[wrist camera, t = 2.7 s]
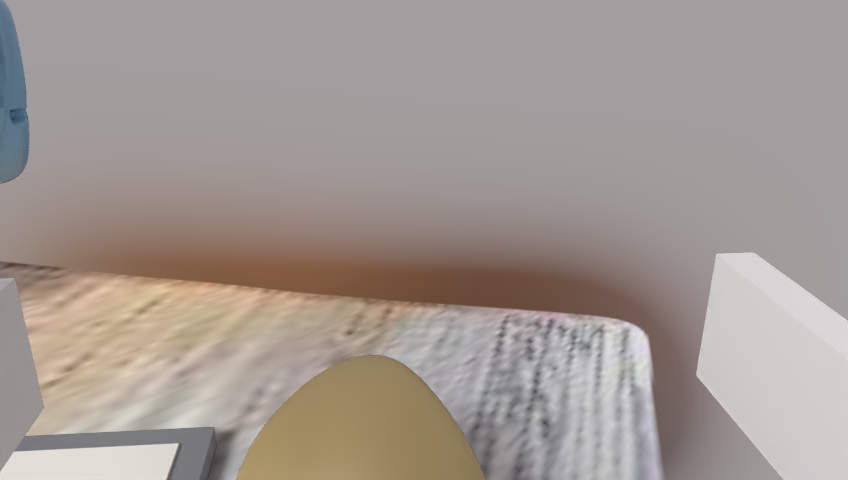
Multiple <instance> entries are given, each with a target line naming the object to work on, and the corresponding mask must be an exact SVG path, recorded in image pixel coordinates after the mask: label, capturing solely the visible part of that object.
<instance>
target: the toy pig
mask: <svg viewBox="0 0 848 480" xmlns="http://www.w3.org/2000/svg"><path fill="white" fill-rule="evenodd" d="M237 480H486V479H485V477H484V474H483V472H482V469H481V467H480V465H479V462H478V460H477V458H476V456H475V454H474V452H473V450H472V448H471V446H470V444H469V443H468V441H467V439H466V437H465V436H464V434H463V432H462V431H461V429H460V428H459V426H458V425H457V423H456V422H455V420H454V419H453V417H452V416H451V414H450V413H449V412H448V410H447V409H446V407H445V406H444V405H443V404H442V402H441V401H440V400H439V398H438V397H437V396H436V395H435V394H434V392H433V391H432V390H431V389H430V388H429V387H428V386H427V385H426V383H425V382H424V381H423V380H422V379H421V378H420V377H419V376H417V375H416V374H415V373H414V372H413V371H412V370H411V369H409V368H408V367H407V366H405V365H404V364H402V363H400V362H399V361H397V360H395V359H392V358H389V357H386V356H380V355H364V356H357V357H353V358H350V359H347V360H344V361H342V362H339V363H337V364H335V365H333V366H331V367H330V368H328V369H326V370H324V371H323V372H321V373H320V374H318V375H317V376H315V377H314V378H313V379H311V380H310V381H309V382H307V383H306V384H305V385H304V386H302V387H301V388H300V389H299V390H298V391H297V392H295V393H294V394H293V395H292V396H291V397H290V398H289V399H288V400H287V401H286V402H285V403H284V404H283V405H282V406H281V407H280V408H279V409H278V410H277V411H276V412H275V413H274V415H273V416H272V417H271V418H270V419H269V420H268V422H267V423H266V424H265V426H264V427H263V428H262V430H261V431H260V432H259V434H258V435H257V437H256V438H255V440H254V442H253V443H252V445H251V447H250V449H249V450H248V452H247V454H246V456H245V458H244V461H243V463H242V465H241V468H240V470H239V473H238V476H237Z"/></svg>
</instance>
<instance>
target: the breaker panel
mask: <svg viewBox="0 0 848 480" xmlns="http://www.w3.org/2000/svg"><path fill="white" fill-rule="evenodd" d="M216 446H217V445H216V436H215V428H214V427H201V428H181V429H161V430H140V431H120V432H100V433H80V434H60V435H39V436H24V438H23V439H22V441H21V442H20V444H19V445H18V446H17V448H16V449H15V451H14V452H13V454H12V455H11V457H10V458H9V460H8V461H7V463H6V464H5V465H4V467H3V468H2V470H1V471H0V480H207V479H208V475H209V472H210V468H211V464H212V460H213V457H214V453H215V449H216Z"/></svg>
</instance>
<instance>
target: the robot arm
mask: <svg viewBox="0 0 848 480" xmlns="http://www.w3.org/2000/svg"><path fill="white" fill-rule="evenodd" d="M26 107H27V104H26V85H25V77H24V70H23V64H22V58H21V52H20V47H19V41H18V37H17V33H16V28H15V24H14V21H13V18H12V15H11V12H10V10H9V8H8V6H7V4H6V3H5V2H4V1H3V0H0V183H5V182H9V181H11V180H13V179H15V178H16V177H18V176H19V175H20V174H21V173H22V172H23V170H24V168H25V166H26V164H27V160H28V154H29V123H28V122H29V121H28V116H27V112H26ZM696 376H697V377H698V378H699V379H700V380H701V382H702V383H703V384H704V385H705V386H706V387H707V389H708V390H709V391H710V392H711V394H712V395H713V396H714V397H715V398H716V400H718V402H719V403H720V404H721V406H722V407H723V408H724V409H725V410H726V412H727V413H728V414H729V415H730V416H731V418H732V419H733V420H734V421H735V422H736V424H737V425H738V426H739V427H740V428H741V430H742V431H743V432H744V433H745V434H746V435H747V437H748V438H749V439H750V440H751V441H752V443H753V444H754V445H755V446H756V447H757V449H758V450H759V451H760V452H761V453H762V455H763V456H764V457H765V458H766V460H767V461H768V462H769V463H770V464H771V466H772V467H773V468H774V469H775V470H776V472H777V473H778V474H779V475H780V476H781V477H782V479H783V480H848V321H847V320H846V319H844V318H843V317H842V316H840V315H839V314H838V313H836V312H835V311H833V310H832V309H831V308H829V307H828V306H827V305H825V304H824V303H822V302H821V301H820V300H818V299H817V298H816V297H814V296H813V295H811V294H810V293H809V292H807V291H805V290H804V289H803V288H802V287H800V286H799V285H798V284H796V283H795V282H793V281H792V280H791V279H789V278H788V277H787V276H785V275H784V274H782V273H781V272H780V271H778V270H777V269H776V268H774V267H773V266H771V265H770V264H768V263H767V262H766V261H765V260H763V259H762V258H760V257H759V256H758V255H756V254H755V253H728V254H716V259H715V266H714V272H713V277H712V283H711V289H710V295H709V301H708V307H707V313H706V319H705V325H704V331H703V337H702V343H701V349H700V355H699V361H698V367H697V373H696ZM43 408H44V405H43V401H42V396H41V392H40V387H39V383H38V379H37V374H36V370H35V365H34V361H33V356H32V352H31V347H30V343H29V339H28V334H27V330H26V325H25V321H24V316H23V312H22V307H21V303H20V299H19V294H18V290H17V285H16V281H15V278H0V471H1V470H2V468H3V467H4V465H5V464H6V463H7V461H8V460H9V458H10V457H11V455H12V454H13V452H14V451H15V449H16V448H17V446H18V445H19V444H20V442H21V441H22V439H23V438H24V436H25V435H26V433H27V432H28V430H29V429H30V427H31V426H32V424H33V423H34V422H35V420H36V419H37V417H38V416H39V414H40V413H41V411H42V410H43Z"/></svg>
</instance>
